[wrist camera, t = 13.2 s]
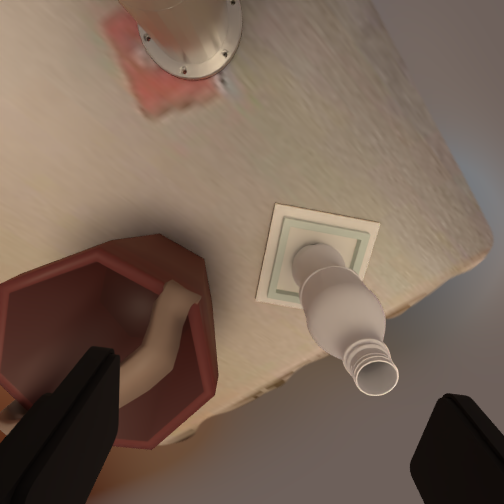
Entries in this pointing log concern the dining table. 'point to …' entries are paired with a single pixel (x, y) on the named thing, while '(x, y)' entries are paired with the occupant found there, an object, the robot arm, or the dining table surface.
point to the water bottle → (344, 317)
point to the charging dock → (309, 233)
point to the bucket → (114, 332)
